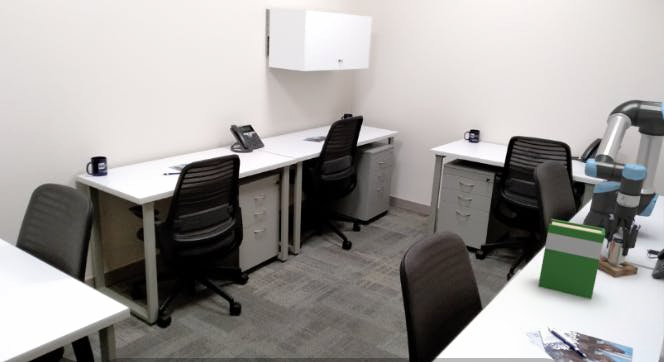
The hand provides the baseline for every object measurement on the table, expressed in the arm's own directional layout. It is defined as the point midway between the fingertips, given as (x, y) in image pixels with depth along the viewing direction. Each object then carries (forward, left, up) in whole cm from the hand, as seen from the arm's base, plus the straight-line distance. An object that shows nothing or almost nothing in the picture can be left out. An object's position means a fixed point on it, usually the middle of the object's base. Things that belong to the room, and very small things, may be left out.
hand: (614, 259), depth 210 cm
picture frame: (0, 0, -4) cm, 4 cm away
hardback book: (+33, +8, -4) cm, 34 cm away
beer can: (0, 0, -1) cm, 1 cm away
